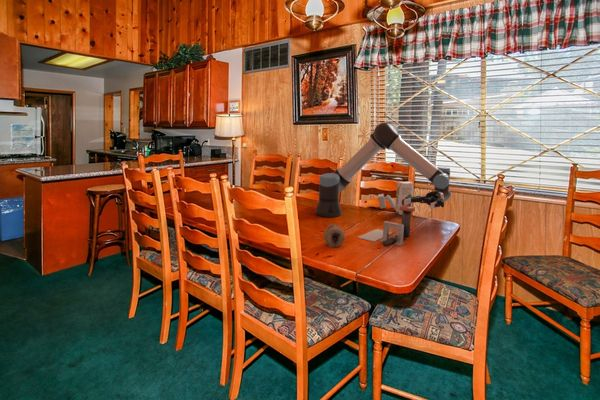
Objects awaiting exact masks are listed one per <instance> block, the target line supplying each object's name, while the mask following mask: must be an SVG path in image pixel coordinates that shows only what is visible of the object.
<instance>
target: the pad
mask: <svg viewBox="0 0 600 400" xmlns="http://www.w3.org/2000/svg"><path fill="white" fill-rule="evenodd" d="M392 234H394V233H393V232H391V231H389V236H390V235H392ZM357 239H361V240H365V241H369V242H372V243H375V242H377V241H381V240H382V239H383V229H378V228H376V229H373V230H371V231H369V232H368V231H367V232H366V233H364V234H361V235H359V236H357Z"/></svg>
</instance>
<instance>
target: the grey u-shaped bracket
mask: <svg viewBox="0 0 600 400" xmlns="http://www.w3.org/2000/svg"><path fill="white" fill-rule="evenodd" d="M382 225H383V226H382V227H383V229H382V230H383V238H382V239H380V242H382V243H383V241H385V240H387V239H389V238H390V235H389V232H390V229H395V230H397V233H396V235H397V241H396V242H394V246H398V247H400V246H402V245H404V244H405V241H404V237H403V233H404V225H403V224H402V223H397V222H392V221H387V220H385V221H383V224H382Z"/></svg>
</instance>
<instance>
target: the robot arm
mask: <svg viewBox="0 0 600 400" xmlns="http://www.w3.org/2000/svg"><path fill="white" fill-rule="evenodd" d="M384 150H388V151H390V150H391V151H392V152H393V153H395V154H396V155H397V156H398V157H400V158H401V159H402V160H403V161H404V162H406V163H407V164H408V165H409V166H411V167H412V168H413V169H415V170H416V171H417V172H418V173H420V174H421V175H422V176H423V177H424V178H426V179H427V180H428V181H429V182H430V183H432V184H433V187H434V189H433V190H431V191H429V192H427V193H426V194H425V195H424V196H423V195H422V196H421V195H415V196H414V195H413V197H405V200H404V205H408V204H410V203H412V204H413V203H419V204H426V205H428V206H430V207H429V209H430V210H433V209H435V208H440V207H441V208H444V207H445V202H446V201H448V200H449V199H450V198H451V196H452V195H451V191H450V177H451V169H450V167H448V166H438V167H437V166H436V165H434V164H433V163H432V162H431V161H430V160H429V159H427V158H426V157H425V156H423V155H422V154H420V153H419V152H418V151H417V150H415V149H414V148H413V147H412V146H411V145H409V144H408V143H407V142H406V141H405V140H403V139H402V136H401V135H400V134H399V128H398V127H397V125H396V124H394V123H393V122H390V121H387V122H381V123H379V124H377V125H376V126H375V127H374V130H373V132H372V133H371V134H370V135H369V139H368V141H367V142H365V144H363V145H362V147H361V148H360V149H359V150H358V151H357V152H356V153H355V154H354V155H353V156H352V157H350V159H349V160H348V161H347V162H346V163H345V164H343V166H342V167H337V168H336V169H335V170H334V172H333V171H332V172H328V173H323V174H321V175H319V181H318V184H319V187H318V189H319V190H318V203H317V205H316V208H315V215H316V214H317V216H318V215H319V217H323V216H324V217H325V218H333V217H334V218H337V217H340V216H342V208H341V204H340V193H341V192H342V191H344V190H345V189H346V188H347V186H349V184H351V182H352V181H353V180H352V178H353V177H354V176H355V175H356V174H357V173H358V172H359V171H360V170H362V168H364V166H365V165H366V164H368V163H369V162H370V161H371V160H372V159H373V158H374V157H375V156H376V155H377V154H379V152H380V151H384ZM336 216H337V217H336ZM324 217H323V218H324Z"/></svg>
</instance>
